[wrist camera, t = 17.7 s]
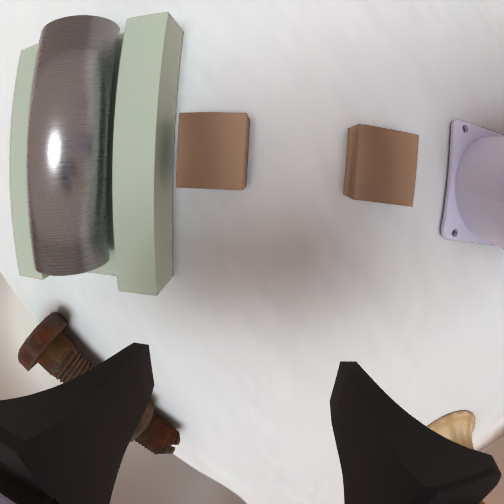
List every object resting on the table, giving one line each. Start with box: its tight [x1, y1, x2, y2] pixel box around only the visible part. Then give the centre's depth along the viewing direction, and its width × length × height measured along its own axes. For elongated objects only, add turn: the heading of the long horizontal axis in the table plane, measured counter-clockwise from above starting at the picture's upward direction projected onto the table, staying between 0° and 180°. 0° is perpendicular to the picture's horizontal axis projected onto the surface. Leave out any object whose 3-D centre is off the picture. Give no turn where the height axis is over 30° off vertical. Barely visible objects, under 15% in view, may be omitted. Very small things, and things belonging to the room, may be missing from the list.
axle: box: [26, 15, 120, 276], centre depth 15 cm, size 14×5×5 cm, turn 177°
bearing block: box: [176, 112, 419, 207], centre depth 16 cm, size 13×4×2 cm, turn 87°
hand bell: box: [427, 410, 485, 504], centre depth 16 cm, size 8×8×16 cm
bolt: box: [18, 312, 180, 454], centre depth 22 cm, size 6×5×15 cm
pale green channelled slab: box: [10, 12, 183, 296], centre depth 17 cm, size 11×16×3 cm
